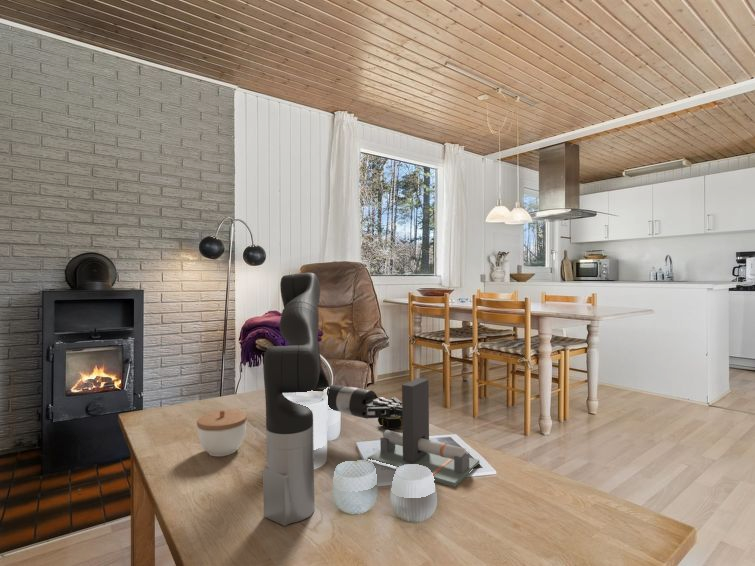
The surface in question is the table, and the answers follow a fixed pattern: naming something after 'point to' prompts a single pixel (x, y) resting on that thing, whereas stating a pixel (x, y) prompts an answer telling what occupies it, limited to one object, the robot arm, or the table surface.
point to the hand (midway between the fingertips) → (410, 412)
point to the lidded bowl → (222, 432)
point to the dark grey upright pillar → (415, 417)
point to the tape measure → (391, 422)
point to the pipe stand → (428, 457)
